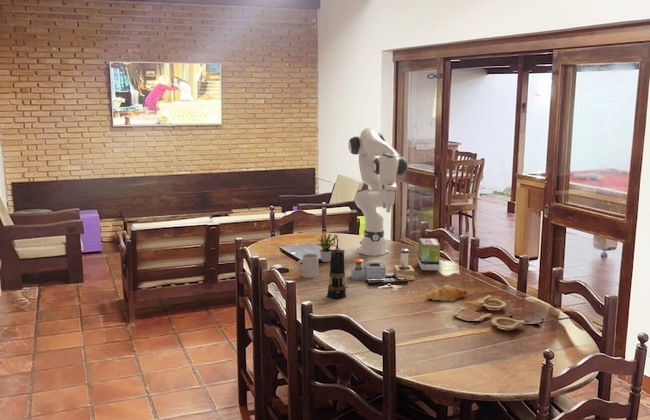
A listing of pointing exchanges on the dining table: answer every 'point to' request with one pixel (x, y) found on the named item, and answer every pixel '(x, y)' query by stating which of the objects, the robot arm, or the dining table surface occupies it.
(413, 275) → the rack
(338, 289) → the lantern
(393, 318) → the dining table surface
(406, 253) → the banded metal cylinder
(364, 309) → the dining table surface
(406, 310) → the dining table surface
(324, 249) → the house plant
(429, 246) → the tea box
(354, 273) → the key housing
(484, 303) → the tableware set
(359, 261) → the orange rounded piece
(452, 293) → the croissant
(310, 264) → the mug
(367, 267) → the socket block
